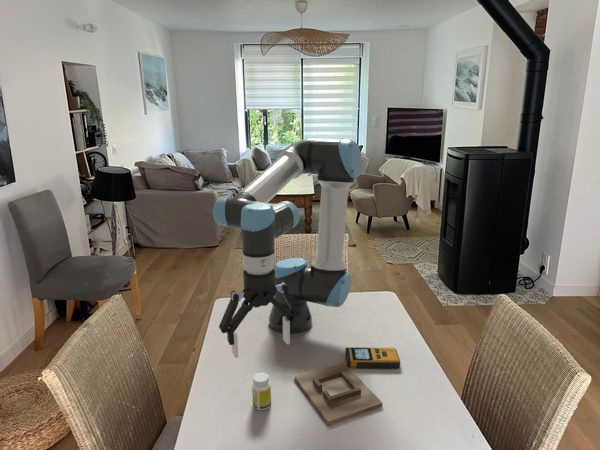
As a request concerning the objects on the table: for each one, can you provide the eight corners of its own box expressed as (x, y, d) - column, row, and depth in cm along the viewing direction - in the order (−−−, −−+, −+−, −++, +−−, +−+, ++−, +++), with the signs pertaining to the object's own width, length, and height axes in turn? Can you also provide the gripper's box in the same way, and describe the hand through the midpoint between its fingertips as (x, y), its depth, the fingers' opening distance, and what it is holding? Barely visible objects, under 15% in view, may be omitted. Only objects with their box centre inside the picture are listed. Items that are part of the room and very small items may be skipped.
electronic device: (400, 371, 129) (401, 362, 128) (347, 370, 130) (347, 360, 129) (395, 355, 137) (396, 345, 136) (345, 354, 138) (345, 344, 137)
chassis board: (294, 379, 125) (294, 371, 124) (343, 365, 131) (343, 357, 130) (327, 425, 107) (328, 416, 107) (382, 406, 114) (382, 397, 113)
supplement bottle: (273, 400, 116) (273, 373, 114) (266, 412, 112) (266, 384, 109) (257, 397, 118) (256, 369, 115) (249, 408, 113) (248, 380, 111)
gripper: (211, 284, 95) (216, 369, 102) (313, 266, 106) (312, 343, 112) (202, 272, 102) (208, 352, 108) (299, 256, 112) (300, 330, 118)
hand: (261, 348), depth 110 cm, fingers open, 13 cm apart
